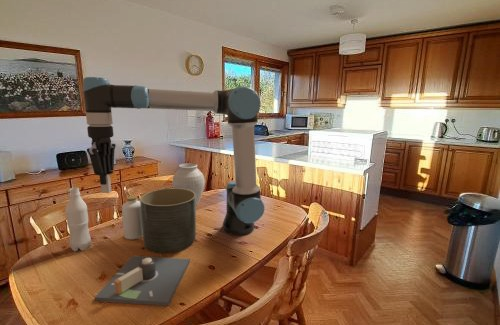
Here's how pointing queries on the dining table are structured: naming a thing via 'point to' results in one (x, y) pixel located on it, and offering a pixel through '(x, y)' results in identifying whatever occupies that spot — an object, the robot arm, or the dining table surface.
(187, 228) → the planter
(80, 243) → the water bottle
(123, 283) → the peg lever
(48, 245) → the dining table surface
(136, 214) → the potion bottle
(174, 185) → the vase
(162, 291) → the dial board
